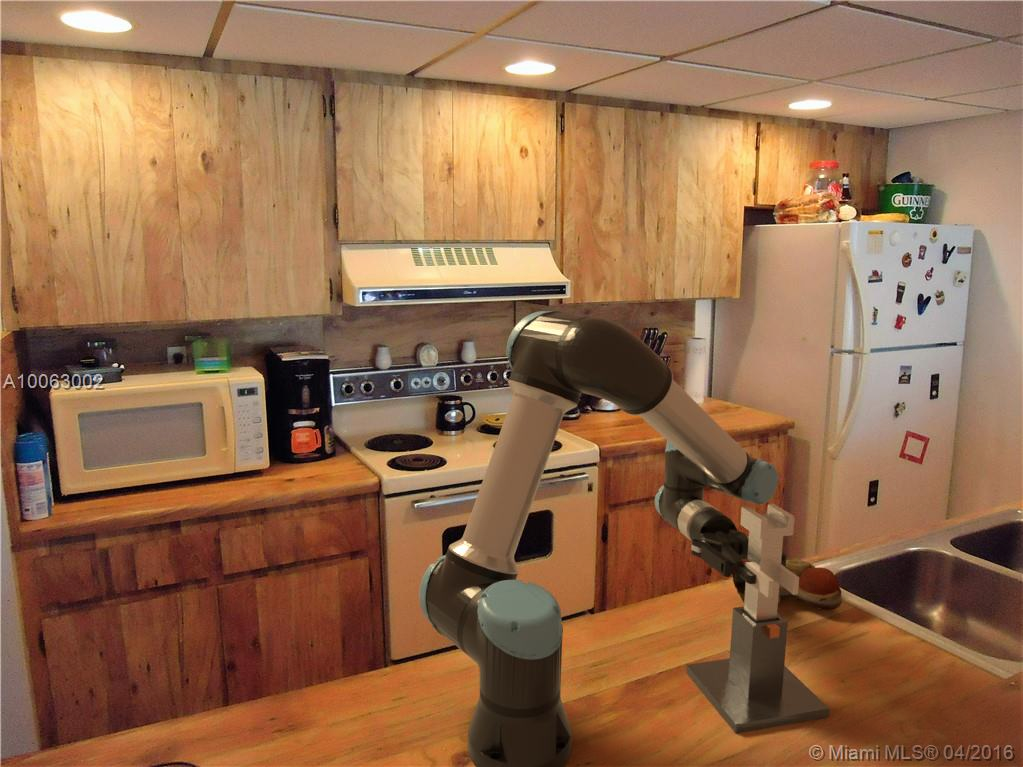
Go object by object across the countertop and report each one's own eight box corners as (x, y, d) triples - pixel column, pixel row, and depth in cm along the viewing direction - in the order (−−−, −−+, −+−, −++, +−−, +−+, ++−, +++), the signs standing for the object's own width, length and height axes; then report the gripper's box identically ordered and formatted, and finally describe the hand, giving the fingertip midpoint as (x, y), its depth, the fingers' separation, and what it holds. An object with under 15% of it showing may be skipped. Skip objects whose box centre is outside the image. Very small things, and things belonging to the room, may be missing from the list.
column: (749, 688, 117) (761, 519, 111) (730, 668, 122) (741, 506, 116) (780, 683, 118) (794, 516, 112) (761, 663, 123) (773, 503, 118)
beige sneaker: (723, 556, 153) (809, 542, 157) (722, 595, 155) (807, 580, 159) (762, 593, 139) (856, 576, 143) (760, 635, 141) (852, 617, 145)
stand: (735, 733, 111) (741, 648, 108) (686, 672, 127) (690, 596, 124) (828, 717, 115) (836, 634, 112) (769, 660, 130) (775, 586, 127)
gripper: (747, 543, 136) (830, 604, 114) (663, 552, 132) (731, 617, 110) (750, 504, 135) (834, 558, 112) (665, 512, 131) (734, 570, 109)
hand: (783, 587), depth 111 cm, fingers closed on column, 4 cm apart
